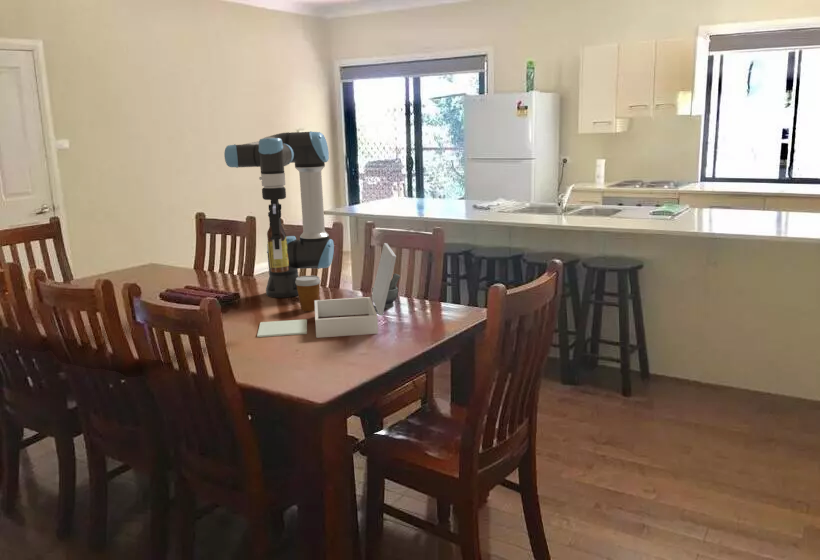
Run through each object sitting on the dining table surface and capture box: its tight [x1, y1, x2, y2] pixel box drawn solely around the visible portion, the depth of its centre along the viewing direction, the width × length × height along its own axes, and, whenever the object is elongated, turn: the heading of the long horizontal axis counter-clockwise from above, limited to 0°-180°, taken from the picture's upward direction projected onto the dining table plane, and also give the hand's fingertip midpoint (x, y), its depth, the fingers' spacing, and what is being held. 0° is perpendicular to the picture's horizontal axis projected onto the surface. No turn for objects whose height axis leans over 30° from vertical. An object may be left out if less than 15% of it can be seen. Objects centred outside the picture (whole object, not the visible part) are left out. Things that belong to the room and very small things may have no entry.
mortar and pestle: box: [371, 273, 401, 309], centre depth 257 cm, size 11×9×12 cm
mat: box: [256, 318, 308, 338], centre depth 232 cm, size 16×16×1 cm
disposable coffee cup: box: [295, 275, 322, 312], centre depth 255 cm, size 10×10×12 cm
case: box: [314, 296, 379, 339], centre depth 234 cm, size 26×20×6 cm
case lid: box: [371, 242, 397, 316], centre depth 233 cm, size 26×20×1 cm
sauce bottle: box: [266, 211, 289, 273], centre depth 226 cm, size 6×6×20 cm
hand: (278, 256), depth 227 cm, fingers closed on sauce bottle, 6 cm apart
